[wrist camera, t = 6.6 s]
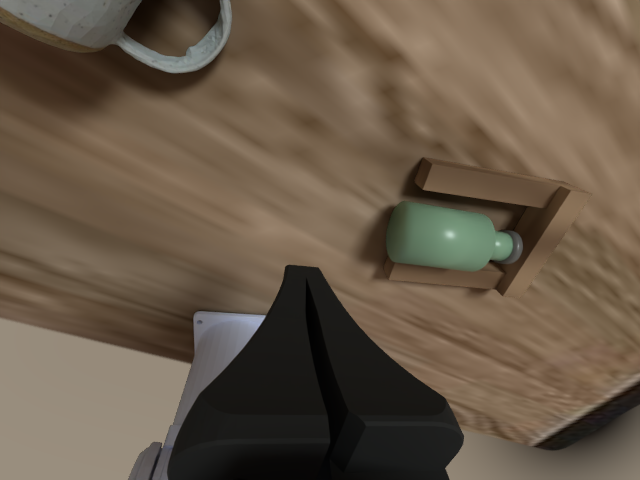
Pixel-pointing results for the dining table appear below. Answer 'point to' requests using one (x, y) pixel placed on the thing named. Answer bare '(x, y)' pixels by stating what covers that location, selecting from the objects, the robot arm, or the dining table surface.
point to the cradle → (533, 227)
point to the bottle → (448, 238)
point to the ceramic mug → (106, 29)
